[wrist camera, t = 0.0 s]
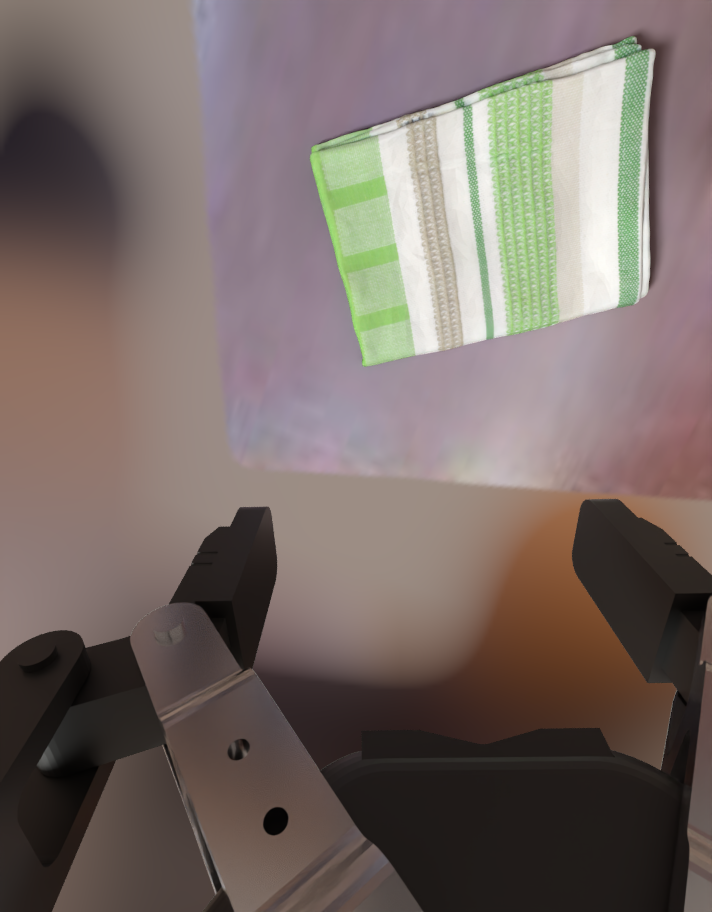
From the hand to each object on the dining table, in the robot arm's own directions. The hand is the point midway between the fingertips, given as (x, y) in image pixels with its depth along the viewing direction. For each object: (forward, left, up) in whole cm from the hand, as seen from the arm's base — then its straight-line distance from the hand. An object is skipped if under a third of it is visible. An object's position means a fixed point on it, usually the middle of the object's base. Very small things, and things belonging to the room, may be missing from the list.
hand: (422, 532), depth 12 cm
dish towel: (-8, +8, -30) cm, 32 cm away
